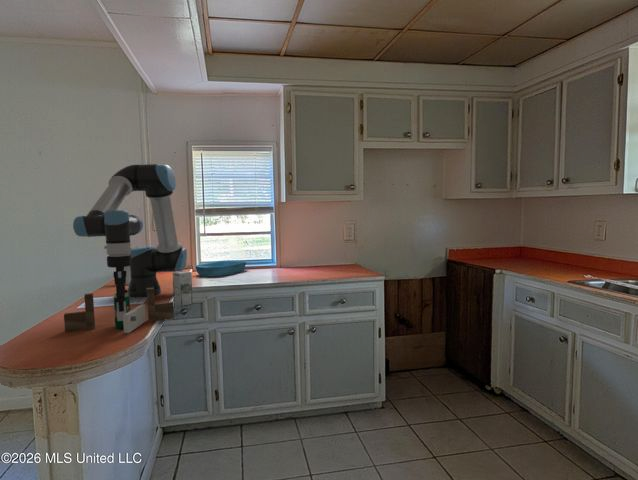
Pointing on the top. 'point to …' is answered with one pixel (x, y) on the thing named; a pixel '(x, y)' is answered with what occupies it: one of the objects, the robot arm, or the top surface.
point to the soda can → (117, 323)
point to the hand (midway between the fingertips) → (122, 315)
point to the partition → (87, 318)
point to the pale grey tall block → (128, 271)
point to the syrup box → (182, 288)
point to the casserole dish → (220, 268)
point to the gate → (134, 318)
